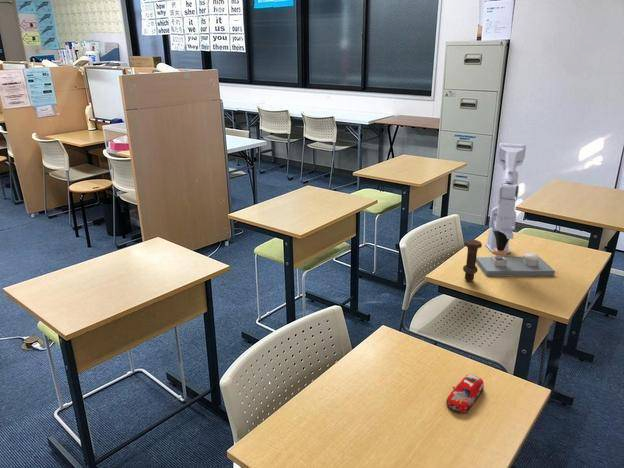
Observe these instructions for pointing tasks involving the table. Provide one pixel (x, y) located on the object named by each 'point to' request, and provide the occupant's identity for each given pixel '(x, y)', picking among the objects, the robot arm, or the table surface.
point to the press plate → (514, 266)
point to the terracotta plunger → (499, 253)
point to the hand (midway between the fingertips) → (500, 250)
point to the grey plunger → (531, 256)
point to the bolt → (471, 259)
